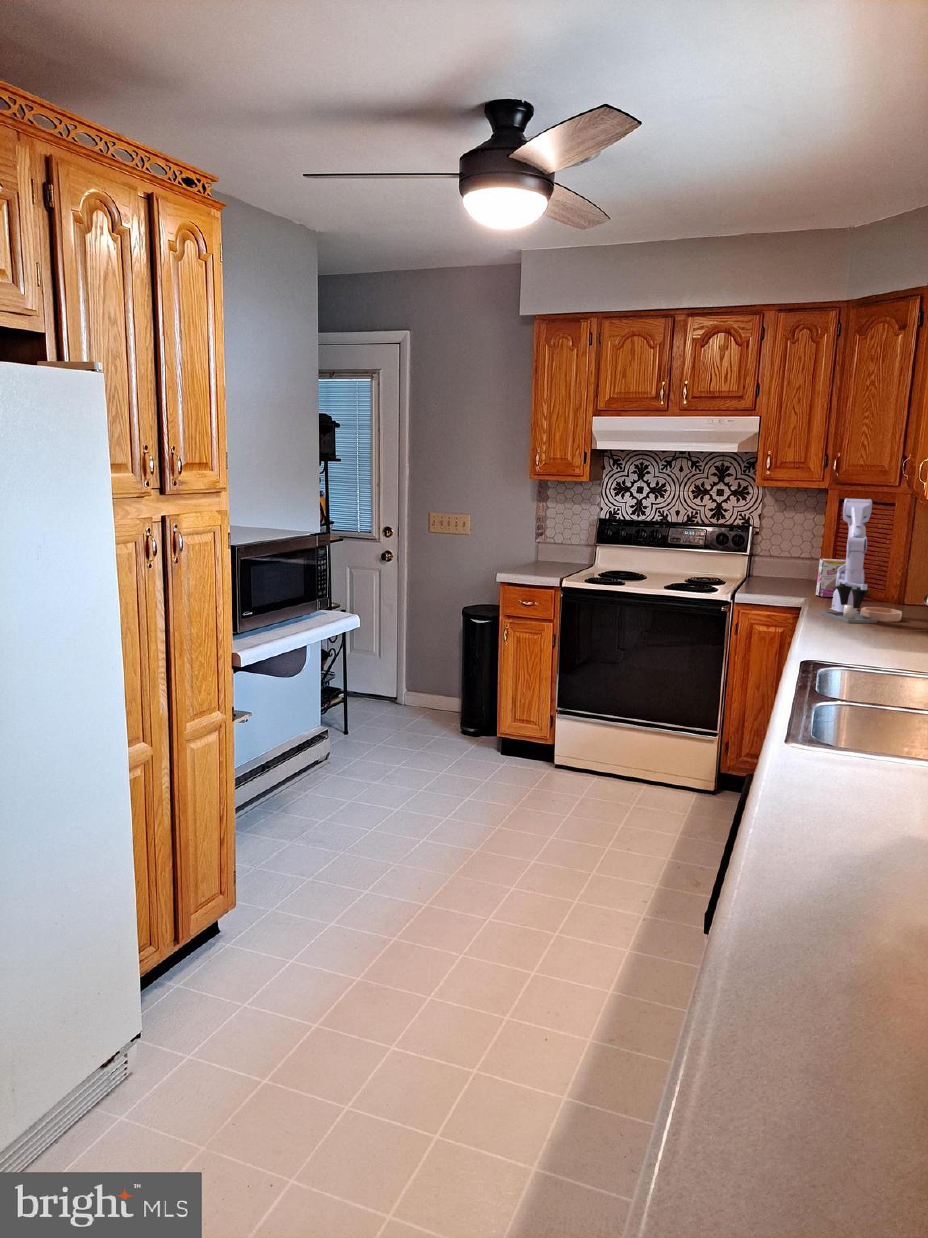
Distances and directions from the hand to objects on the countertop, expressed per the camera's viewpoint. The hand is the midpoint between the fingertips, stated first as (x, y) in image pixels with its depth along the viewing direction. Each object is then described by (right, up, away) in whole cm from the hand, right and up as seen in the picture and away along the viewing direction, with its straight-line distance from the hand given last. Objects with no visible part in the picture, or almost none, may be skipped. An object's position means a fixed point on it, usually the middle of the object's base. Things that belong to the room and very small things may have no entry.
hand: (850, 606), depth 328 cm
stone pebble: (0, -5, +1) cm, 5 cm away
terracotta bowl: (+13, -5, +5) cm, 15 cm away
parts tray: (0, -5, +1) cm, 5 cm away
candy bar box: (+16, +5, +55) cm, 58 cm away
